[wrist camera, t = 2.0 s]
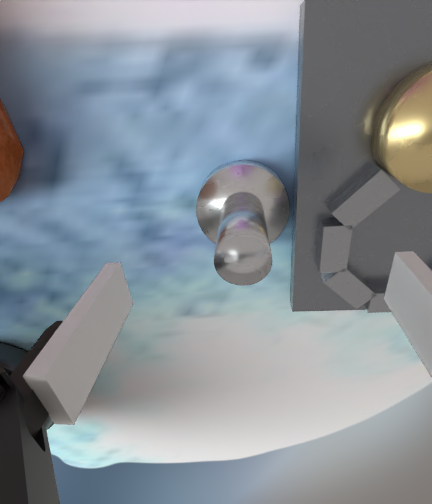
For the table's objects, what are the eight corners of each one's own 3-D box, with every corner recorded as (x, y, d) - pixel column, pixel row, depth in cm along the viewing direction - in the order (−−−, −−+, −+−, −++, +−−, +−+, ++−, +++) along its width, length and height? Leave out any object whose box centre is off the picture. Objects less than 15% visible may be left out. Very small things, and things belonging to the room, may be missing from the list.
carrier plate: (290, 300, 28) (294, 320, 26) (300, 5, 17) (309, -6, 15) (473, 295, 26) (495, 316, 24) (617, -40, 15) (685, -60, 13)
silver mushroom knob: (204, 245, 26) (189, 311, 18) (193, 164, 22) (169, 207, 15) (285, 240, 25) (304, 308, 18) (287, 156, 21) (312, 197, 14)
